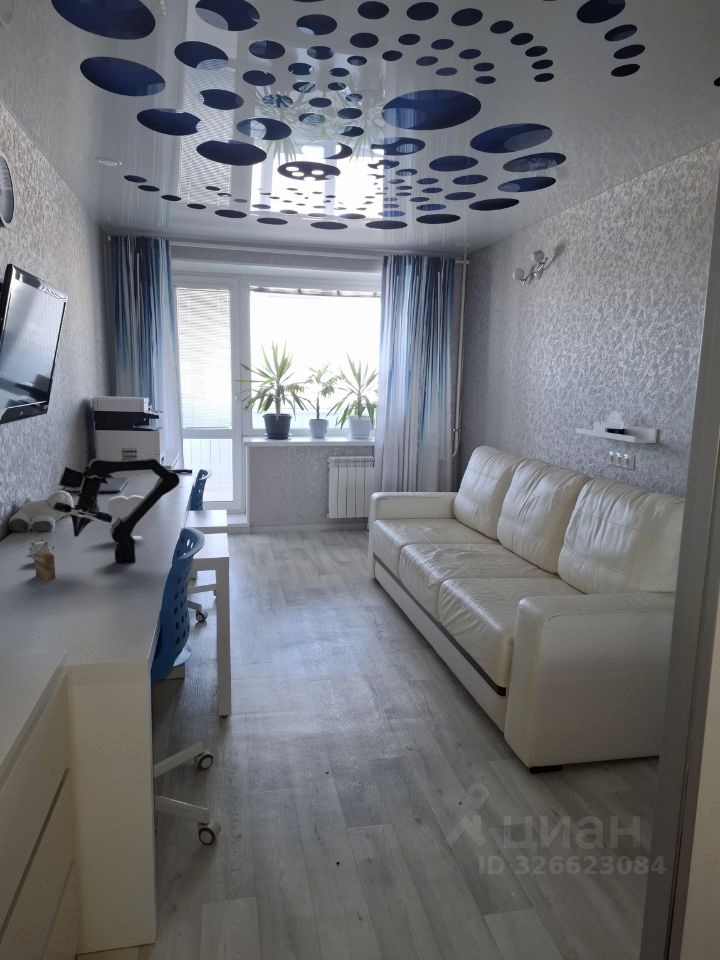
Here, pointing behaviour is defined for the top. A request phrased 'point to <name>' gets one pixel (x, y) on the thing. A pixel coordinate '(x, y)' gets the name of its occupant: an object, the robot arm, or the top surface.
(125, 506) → the heart sculpture
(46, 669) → the top surface
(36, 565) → the walnut block
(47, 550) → the game die
